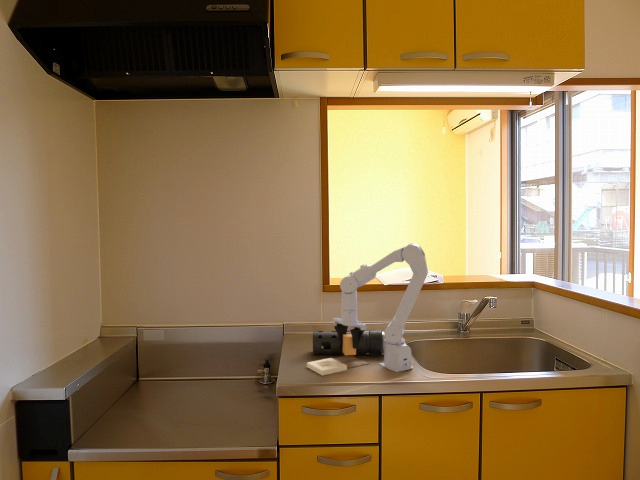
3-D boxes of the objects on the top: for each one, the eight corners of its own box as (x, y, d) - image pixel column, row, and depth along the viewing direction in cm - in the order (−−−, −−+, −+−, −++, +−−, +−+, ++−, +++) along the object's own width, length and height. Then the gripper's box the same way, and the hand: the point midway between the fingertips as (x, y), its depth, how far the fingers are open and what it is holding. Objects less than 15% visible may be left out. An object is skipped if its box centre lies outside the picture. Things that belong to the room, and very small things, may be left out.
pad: (369, 365, 162) (369, 363, 162) (348, 369, 158) (348, 367, 158) (349, 356, 173) (349, 354, 173) (330, 360, 168) (330, 358, 168)
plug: (355, 354, 163) (355, 336, 163) (345, 355, 163) (345, 337, 162) (353, 351, 167) (353, 334, 167) (342, 352, 167) (342, 334, 166)
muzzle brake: (313, 326, 180) (312, 334, 170) (384, 326, 179) (387, 333, 169) (314, 350, 181) (312, 359, 171) (384, 349, 180) (387, 358, 170)
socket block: (346, 371, 156) (346, 365, 156) (322, 376, 151) (322, 370, 151) (331, 363, 165) (331, 357, 164) (307, 368, 159) (307, 362, 159)
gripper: (372, 310, 162) (371, 348, 162) (342, 304, 172) (342, 340, 173) (359, 313, 157) (358, 352, 158) (329, 307, 167) (329, 343, 168)
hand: (349, 346), depth 165 cm, fingers closed on plug, 5 cm apart
